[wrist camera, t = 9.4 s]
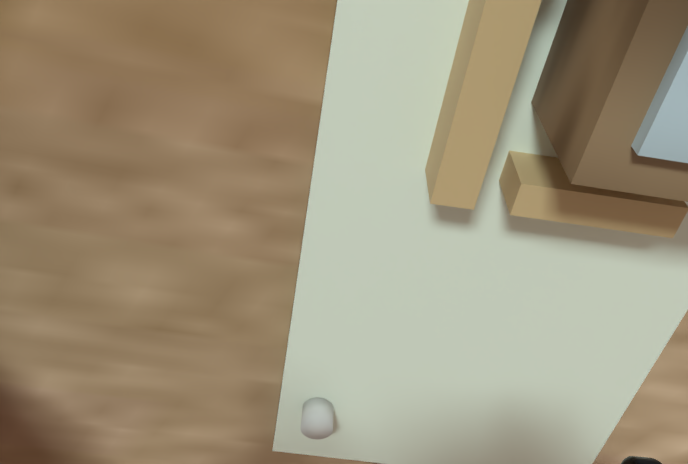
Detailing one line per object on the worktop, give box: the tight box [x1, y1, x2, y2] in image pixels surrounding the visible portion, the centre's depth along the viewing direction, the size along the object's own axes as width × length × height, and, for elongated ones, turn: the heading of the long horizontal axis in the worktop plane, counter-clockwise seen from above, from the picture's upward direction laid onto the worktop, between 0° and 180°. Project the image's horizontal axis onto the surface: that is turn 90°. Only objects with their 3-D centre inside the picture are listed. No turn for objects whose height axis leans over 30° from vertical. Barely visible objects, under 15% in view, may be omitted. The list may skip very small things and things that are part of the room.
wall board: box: [272, 0, 688, 464], centre depth 18 cm, size 13×29×3 cm, turn 171°
